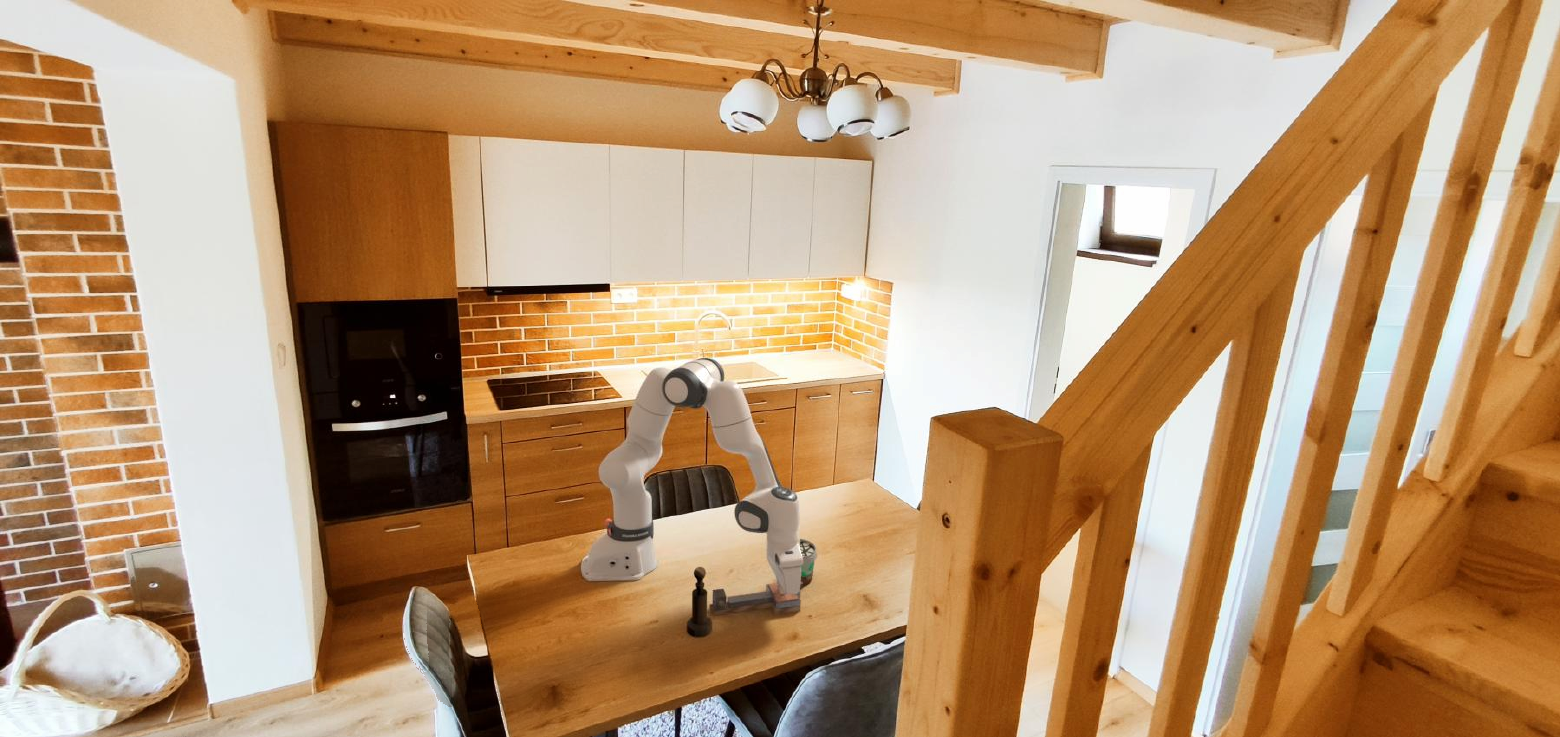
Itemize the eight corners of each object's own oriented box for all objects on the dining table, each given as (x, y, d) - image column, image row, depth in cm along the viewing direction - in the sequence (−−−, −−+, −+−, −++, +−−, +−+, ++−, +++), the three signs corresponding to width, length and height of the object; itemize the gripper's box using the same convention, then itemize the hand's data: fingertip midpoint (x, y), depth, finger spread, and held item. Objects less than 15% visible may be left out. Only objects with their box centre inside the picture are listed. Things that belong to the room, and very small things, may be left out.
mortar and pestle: (699, 619, 196) (700, 558, 191) (717, 629, 192) (718, 567, 187) (681, 630, 191) (681, 568, 186) (699, 641, 187) (699, 577, 182)
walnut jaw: (713, 623, 194) (714, 604, 193) (706, 602, 204) (706, 584, 202) (803, 610, 201) (804, 592, 200) (792, 591, 211) (793, 573, 209)
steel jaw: (732, 615, 195) (732, 608, 195) (724, 594, 205) (724, 588, 204) (804, 604, 201) (804, 598, 200) (793, 585, 210) (793, 579, 210)
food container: (812, 592, 210) (814, 560, 208) (791, 589, 212) (792, 558, 209) (819, 570, 222) (820, 540, 220) (799, 567, 223) (800, 537, 221)
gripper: (761, 530, 209) (760, 574, 212) (782, 565, 190) (781, 613, 193) (782, 527, 211) (781, 571, 214) (805, 562, 192) (804, 609, 195)
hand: (781, 591), depth 203 cm, fingers closed, pressing on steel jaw
